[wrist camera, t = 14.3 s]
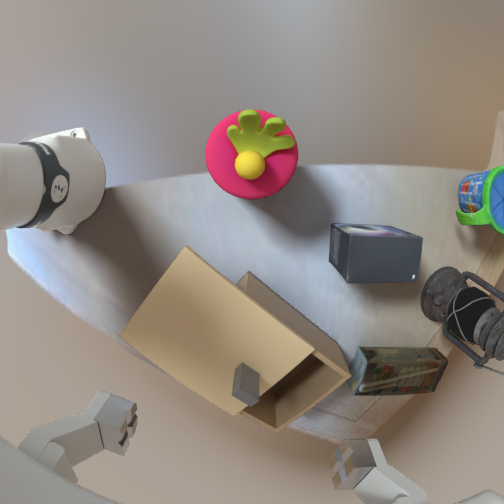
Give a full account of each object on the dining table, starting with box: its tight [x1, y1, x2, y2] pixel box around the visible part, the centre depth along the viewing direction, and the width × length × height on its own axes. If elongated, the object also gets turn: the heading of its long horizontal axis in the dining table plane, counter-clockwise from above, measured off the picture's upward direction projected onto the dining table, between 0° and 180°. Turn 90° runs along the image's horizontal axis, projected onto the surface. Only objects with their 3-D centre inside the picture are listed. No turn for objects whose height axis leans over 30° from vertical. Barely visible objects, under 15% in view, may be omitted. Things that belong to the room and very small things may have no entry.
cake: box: [206, 109, 298, 199], centre depth 33 cm, size 10×10×15 cm
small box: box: [329, 223, 423, 283], centre depth 38 cm, size 11×6×10 cm, turn 90°
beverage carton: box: [347, 347, 448, 396], centre depth 45 cm, size 8×19×7 cm, turn 82°
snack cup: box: [456, 166, 504, 234], centre depth 35 cm, size 16×10×10 cm
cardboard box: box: [236, 271, 351, 433], centre depth 42 cm, size 20×16×10 cm
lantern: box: [421, 267, 504, 375], centre depth 30 cm, size 12×11×30 cm
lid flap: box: [119, 245, 315, 416], centre depth 33 cm, size 21×17×6 cm
